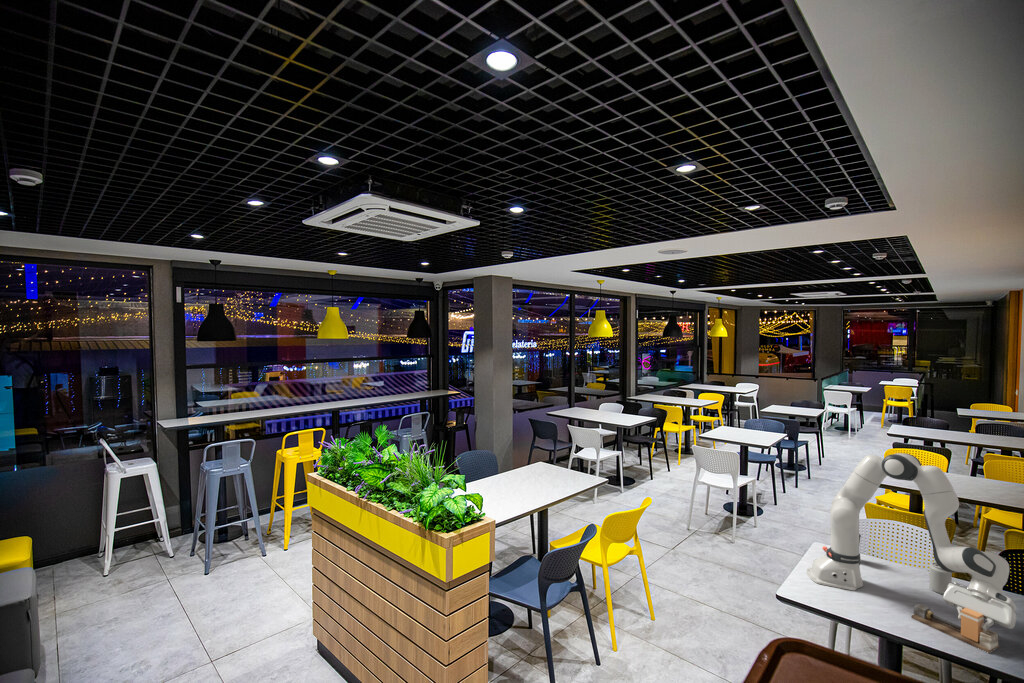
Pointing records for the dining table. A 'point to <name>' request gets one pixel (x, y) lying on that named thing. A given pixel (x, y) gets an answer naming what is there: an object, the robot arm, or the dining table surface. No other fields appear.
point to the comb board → (955, 629)
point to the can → (939, 578)
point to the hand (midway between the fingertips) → (971, 624)
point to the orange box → (971, 624)
